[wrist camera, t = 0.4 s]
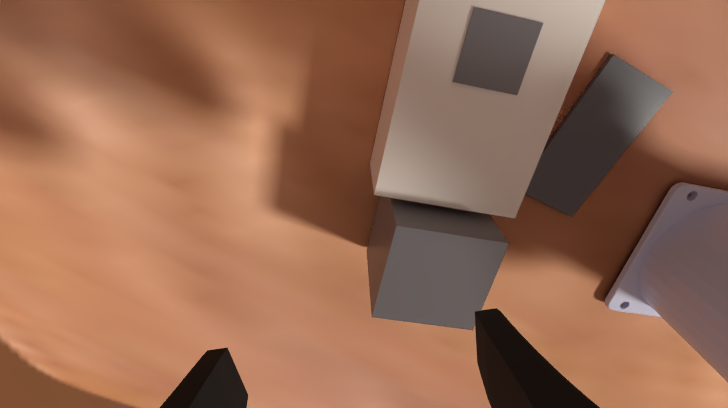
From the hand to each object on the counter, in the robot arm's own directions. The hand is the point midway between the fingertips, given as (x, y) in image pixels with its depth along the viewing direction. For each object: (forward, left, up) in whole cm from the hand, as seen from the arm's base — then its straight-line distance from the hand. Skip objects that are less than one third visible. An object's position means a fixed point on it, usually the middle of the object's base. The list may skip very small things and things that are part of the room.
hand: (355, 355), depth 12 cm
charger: (-3, -1, -9) cm, 10 cm away
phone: (-10, -5, -10) cm, 15 cm away
